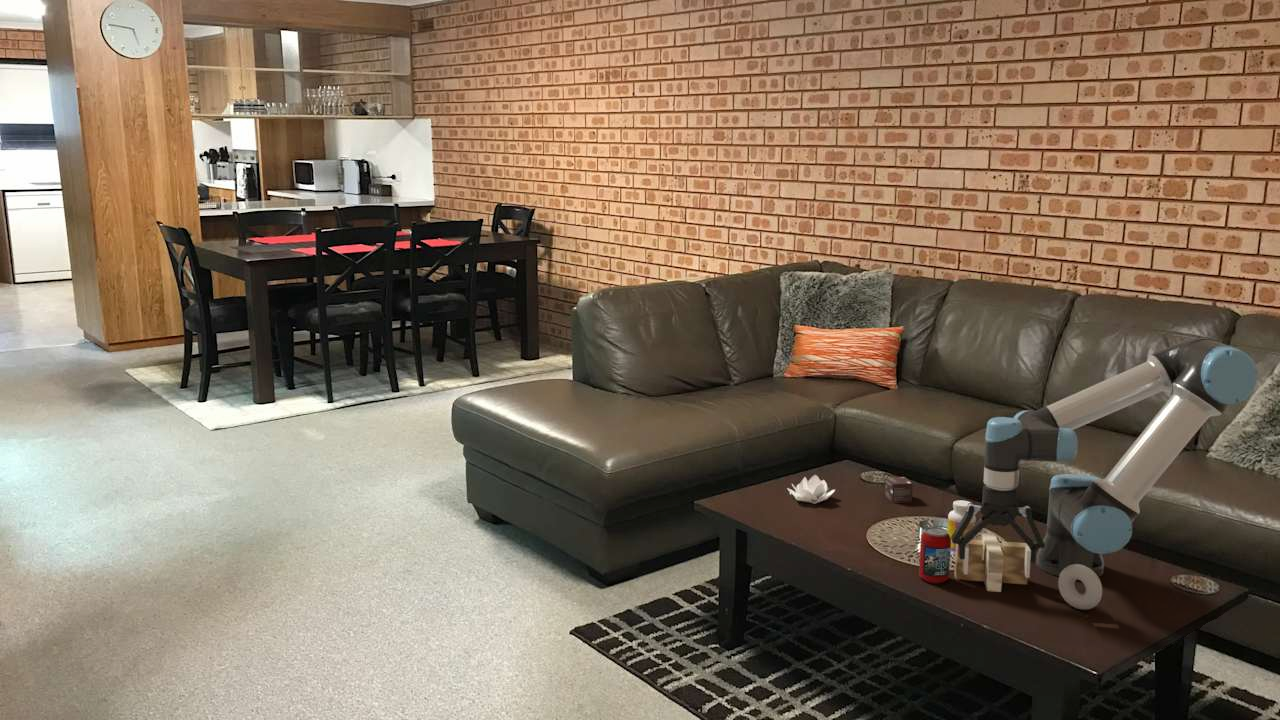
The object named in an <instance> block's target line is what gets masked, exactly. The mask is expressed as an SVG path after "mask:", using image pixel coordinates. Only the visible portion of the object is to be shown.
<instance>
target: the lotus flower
mask: <svg viewBox="0 0 1280 720" xmlns="http://www.w3.org/2000/svg"><path fill="white" fill-rule="evenodd" d="M791 486H792V488H793V489H794V490H795V491H794V490H793V489H791V488H789V487H787V488H786V489H787V490H788V492H789V495H793V497H794V499H795V500H796V501H799V502H804V503H810V504H811V503H812V505H814V504H818V503H820V502H822V501H826V500H828V499H829V498H830V496H832V495H833V494H834V493H835V491H836V489H831V490H830V487H828V484H827V482H826V481H825V479H822V480H821V479H820V478H819V476H818V475H817V474H814V475H812V476H811V477H810V479H807V477H806V476H804V477H803V479H802V480H801V481H800V483H798V484H797V485H796V486H795V485H794V484H793V483H791ZM829 490H830V491H829ZM812 509H814V508H812Z"/></svg>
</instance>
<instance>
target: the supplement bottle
mask: <svg viewBox="0 0 1280 720" xmlns="http://www.w3.org/2000/svg"><path fill="white" fill-rule="evenodd" d="M969 503H972V502H971V501H968V500H961V499H960V500H955V501H953V503H952V508H953V510H950V512H949V513H948V515H947V527H946V530H947V531H948V534H949V536H950V538H951V536H952V535H953V533H954V531H955V530H956V528H957V526H958V525H959V523H960V522H961V520H962V518H963V517H964V515H965V513H966V511H967V506H968V504H969ZM976 523H977V518H976V514H975V515H973V517H972V519H971V521H970V523H969V524H968V526H967V528H966V529H965V531H964V532H963V534H962V536H963V535H964V534H965V533H966V532H967V531H968V530H969V529H970V528H971V527H972V526H973V525H974V524H976ZM962 536H961V537H962ZM961 537H960V538H961ZM972 540H975V537H974V538H973V539H972ZM951 552H953V553H952V554H954V553H955V555H956V544H954V543H953V542H952V539H951V548H950V553H951Z"/></svg>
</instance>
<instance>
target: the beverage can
mask: <svg viewBox="0 0 1280 720" xmlns="http://www.w3.org/2000/svg"><path fill="white" fill-rule="evenodd" d="M919 547H920V549H919V568H918V570H919V571H918V576H919V578H921V579H922V580H924V581H925V582H927V583H930V582H931V584H942V583H944V582H945V581H948V580H949V576H950V575H949V574H950V563H951V562H950V561H951V552H950V548H951V538H950V536H949V534H948V531H947V528H946V529H945V528H942V527H939V526H937V527H936V526H931V527H930V526H929V527H926V528H925V529H924V531H923V532H922V534H921V535H920V546H919ZM941 582H942V583H941Z"/></svg>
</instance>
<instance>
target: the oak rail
mask: <svg viewBox="0 0 1280 720" xmlns="http://www.w3.org/2000/svg"><path fill="white" fill-rule="evenodd" d="M1025 546H1028V545H1027V544H1026V542H1017V541H1015V542H1014V541H1002V542H1001V550H1002V552H1003V554H1004V557H1003V571H1002V584H1013V585H1014V584H1016V585H1028V578H1026V577H1025V575H1024V562H1025ZM968 547H969V554H968V574H964V572H963V559H960V557H959V545H958V544H956V554H955V557H954V558H955V559H954V578H955V580H960V579H961V580H962V581H974V582H985V568H986V564H985V562H984V559H983V542H982V540H981V539H974V540H971V541H970V542H969V543H968ZM1028 547H1029V546H1028ZM961 580H960V581H961Z"/></svg>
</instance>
